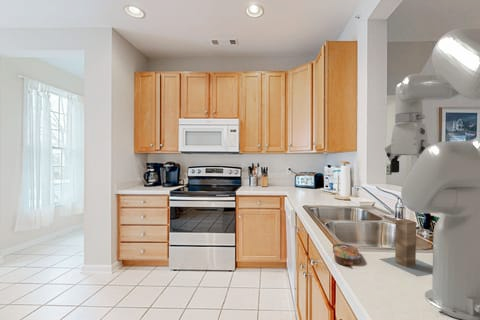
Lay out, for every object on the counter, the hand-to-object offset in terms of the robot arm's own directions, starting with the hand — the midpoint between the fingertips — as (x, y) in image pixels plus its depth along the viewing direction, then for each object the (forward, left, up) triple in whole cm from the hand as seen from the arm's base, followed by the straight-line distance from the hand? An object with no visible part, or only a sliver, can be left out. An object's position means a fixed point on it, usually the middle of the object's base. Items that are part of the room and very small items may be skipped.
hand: (407, 173), depth 89 cm
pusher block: (0, 0, -30) cm, 30 cm away
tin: (+9, +10, -29) cm, 32 cm away
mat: (-1, -1, -30) cm, 30 cm away
